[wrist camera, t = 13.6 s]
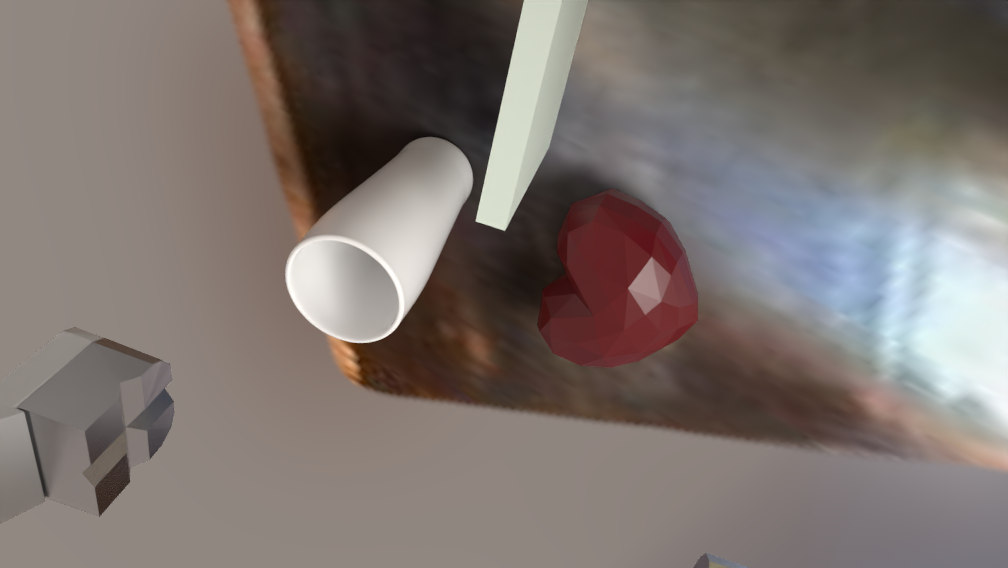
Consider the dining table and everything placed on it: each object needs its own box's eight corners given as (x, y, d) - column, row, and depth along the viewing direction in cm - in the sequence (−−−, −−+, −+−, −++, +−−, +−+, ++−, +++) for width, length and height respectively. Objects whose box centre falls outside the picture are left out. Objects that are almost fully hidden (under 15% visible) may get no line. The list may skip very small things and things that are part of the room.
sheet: (573, -58, 42) (526, -13, 33) (601, -50, 41) (562, -3, 33) (524, 140, 49) (475, 221, 40) (548, 147, 48) (504, 230, 40)
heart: (742, 211, 46) (591, 157, 49) (721, 274, 41) (549, 210, 43) (680, 354, 54) (551, 301, 56) (654, 425, 48) (510, 364, 50)
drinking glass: (496, 211, 52) (420, 344, 40) (406, 219, 54) (308, 347, 42) (472, 116, 49) (382, 229, 36) (377, 129, 51) (262, 239, 39)
